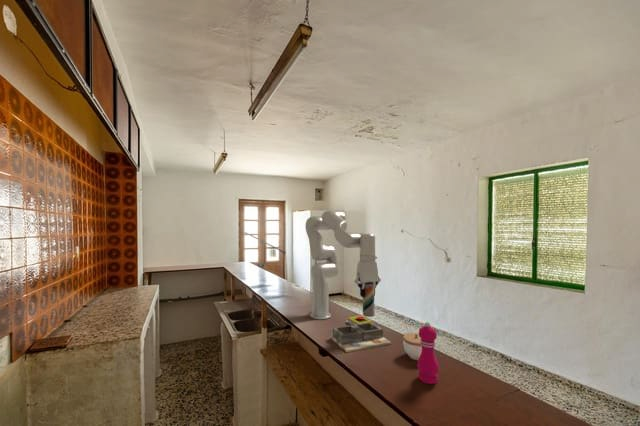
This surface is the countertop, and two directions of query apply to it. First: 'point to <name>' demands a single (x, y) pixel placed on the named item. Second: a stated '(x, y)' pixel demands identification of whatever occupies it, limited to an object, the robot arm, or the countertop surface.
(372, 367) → the countertop surface
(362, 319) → the emergency button
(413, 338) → the lidded jar
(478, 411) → the countertop surface
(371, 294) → the lotion bottle
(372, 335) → the socket board
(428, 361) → the pepper mill
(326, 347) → the countertop surface
